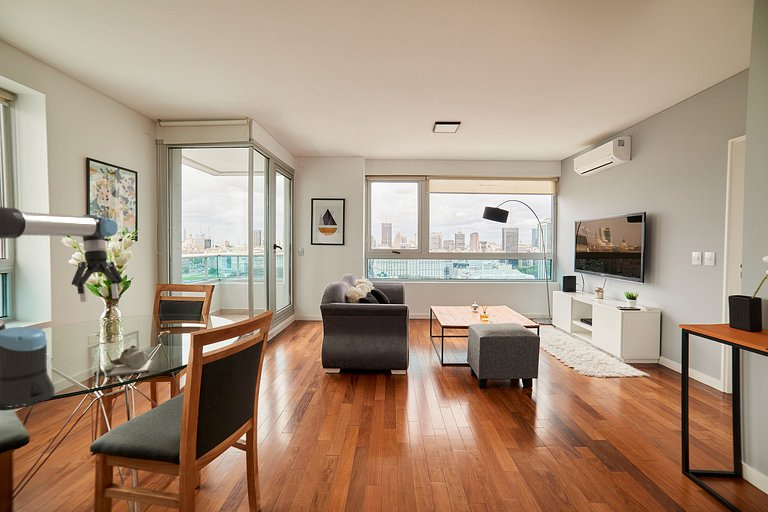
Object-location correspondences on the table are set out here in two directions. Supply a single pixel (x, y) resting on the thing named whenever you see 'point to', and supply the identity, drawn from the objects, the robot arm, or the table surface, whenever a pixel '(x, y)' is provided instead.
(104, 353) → the table surface
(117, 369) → the linen sheet mat
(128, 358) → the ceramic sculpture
